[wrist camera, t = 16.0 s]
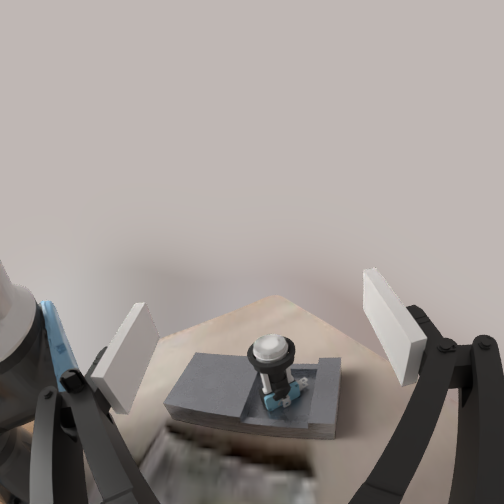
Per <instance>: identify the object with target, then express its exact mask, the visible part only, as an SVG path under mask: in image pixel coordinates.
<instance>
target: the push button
mask: <svg viewBox="0 0 504 504" xmlns="http://www.w3.org/2000/svg"><path fill="white" fill-rule="evenodd" d="M288 352H289V353H288ZM294 355H295V345H294V343H293V342H292V341H291V340H290V339H288V338H286V337H283V336H281V335H278V334H268V335H264V336H262V337H260V338H258V339H257V340H256V341H255V342H254V343H253V344H252V345H251V346H250V348H249V349H248V352H247V357H248V360H249V362H250V363H251V364H252V365H253V367H254V369H255V370H256V371H257V372H259V373H260V374H261V378H262V382H263V386H264V387H263V388H261V389H259V395H260V398H261V401H262V403H263V404H264V405H265V407H266V408H267V409H268V411H272V410H274V409H276V408H278V407H280V406H282V405H283V407H287V406H289V405H290V404H291V400H293V399H295V398H297V397H299V396H300V391H301V390H302V388H304V387H306V386H308V384H307V383H306V382H307V381H308V380H307V379H306V378H305V377H304V378H302V379H300V380H297V381H295V380H294V378H293V376H292V375H291V370H290V366H291V365H292V364H293V361H294ZM256 359H257V360H256ZM302 380H305V381H304V382H303V381H302ZM303 384H305V386H303ZM286 403H288V404H287V405H285V404H286Z"/></svg>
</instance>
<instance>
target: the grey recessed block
mask: <svg viewBox="0 0 504 504" xmlns="http://www.w3.org/2000/svg"><path fill="white" fill-rule="evenodd" d="M256 360H257V359H256ZM290 370H291V375H292V376H293V378H294V380H295V381H297V380H300V379H302V378H304V377H305V378H306V379H307V380H308V381H307V382H306V383H307V384H308V386H306V387H304V388H302V390H301V391H300V396H299V397H297V398H295V399H293V400H291V404H290V405H289V406H287V407H283V405H282V406H280V407H278V408H276V409H274V410H272V411H268V409H267V408H266V407H265V405H264V404H263V403H262V401H261V398H260V395H259V389H261V388H263V387H264V386H263V382H262V378H261V374H260V373H259V372H257V371H256V370H255V369H254V367H253V365H252V364H251V363H250V362H249V360H248V357H247V356H232V355H218V354H206V353H195V355H194V356H193V358H192V359H191V361H190V362H189V364H188V366H187V367H186V369H185V370H184V372H183V373H182V375H181V376H180V378H179V379H178V381H177V383H176V384H175V386H174V387H173V389H172V390H171V392H170V393H169V395H168V396H167V398H166V400H165V401H164V403H163V404H164V405H165V407H166V408H167V410H168V412H169V413H170V415H171V416H172V418H173V419H176V420H180V421H184V422H188V423H193V424H197V425H202V426H207V427H212V428H218V429H224V430H230V431H236V432H243V433H250V434H258V435H267V436H277V437H289V438H304V439H334V438H335V430H336V422H337V414H338V405H339V395H340V384H341V358H319V363H318V364H292V365H291V366H290ZM302 381H303V382H304V381H305V380H302ZM303 386H305V384H303ZM287 404H288V403H286V404H285V405H287Z"/></svg>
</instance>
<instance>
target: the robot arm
mask: <svg viewBox="0 0 504 504" xmlns="http://www.w3.org/2000/svg"><path fill="white" fill-rule="evenodd" d="M363 271H364V272H363V273H364V296H363V310H364V311H365V313H366V315H367V317H368V319H369V321H370V322H371V325H372V327H373V328H374V331H375V333H376V335H377V337H378V339H379V341H380V342H381V344H382V347H383V348H384V351H385V353H386V355H387V357H388V359H389V361H390V363H391V365H392V367H393V369H394V371H395V373H396V376H397V378H398V380H399V382H400V384H401V386H402V387H403V386H406V385H409V384H412V383H415V382H416V381H417V378H418V374H419V375H420V377H419V380H418V382H417V385H416V387H415V389H414V392H413V394H412V396H411V399H410V401H409V403H408V405H407V407H406V409H405V412H404V414H403V416H402V418H401V420H400V422H399V424H398V426H397V428H396V430H395V432H394V434H393V435H392V437H391V439H390V441H389V443H388V445H387V446H386V448H385V450H384V452H383V454H382V455H381V457H380V459H379V460H378V462H377V464H376V465H375V467H374V469H373V470H372V472H371V473H370V475H369V477H368V478H367V480H366V481H365V482H364V483H363V484H362V485H361V487H360V488H359V489H358V491H357V492H356V493H355V495H354V496H353V498H352V499H351V500H350V502H349V503H348V504H400V502H401V500H402V498H403V495H404V493H405V491H406V489H407V487H408V485H409V483H410V481H411V480H412V478H413V476H414V474H415V472H416V470H417V468H418V465H419V463H420V461H421V459H422V457H423V455H424V452H425V450H426V448H427V446H428V443H429V441H430V438H431V436H432V434H433V431H434V428H435V426H436V423H437V421H438V418H439V415H440V412H441V409H442V406H443V403H444V400H445V397H446V394H447V391H448V389H453V388H458V389H459V390H458V391H459V392H458V393H459V407H458V434H457V447H456V458H455V466H454V474H453V480H452V487H451V492H450V498H449V503H448V504H504V375H503V369H502V364H501V358H500V354H499V349H498V345H497V342H496V340H495V339H494V338H492V337H490V336H488V335H479V336H477V337H476V338H475V339H474V341H473V343H472V345H457V343H456V342H455V341H453V340H452V339H449V338H443V336H442V335H441V334H440V332H439V331H438V330H437V328H436V327H435V326H434V324H433V323H432V322H431V320H430V319H429V318H428V317H427V315H426V314H425V312H424V311H423V310H422V309H421V308H419V307H417V306H416V305H412V306H408V307H405V306H404V304H403V303H402V302H401V300H400V299H399V297H398V296H397V295H396V293H395V292H394V291H393V289H392V288H391V287H390V286H389V284H388V283H387V282H386V280H385V279H384V278H383V277H382V275H381V274H380V273H379V271H378V270H377V269H376V268H370V269H365V270H363ZM159 338H160V336H159V333H158V331H157V329H156V326H155V324H154V322H153V319H152V317H151V314H150V312H149V309H148V307H147V304H146V302H142V303H135V304H134V306H133V308H132V309H131V311H130V312H129V314H128V315H127V317H126V319H125V320H124V322H123V323H122V325H121V326H120V328H119V330H118V331H117V333H116V334H115V336H114V338H113V339H112V341H111V343H110V344H109V346H108V347H105V348H103V349H102V350H101V351H100V352H99V354H98V355H97V357H96V360H94V362H93V365H91V367H90V369H89V370H88V372H87V374H86V375H85V377H84V376H83V375H82V373H81V372H80V370H79V367H78V365H77V362H76V359H75V357H74V354H73V352H72V349H71V347H70V344H69V342H68V339H67V336H66V334H65V331H64V329H63V326H62V323H61V321H60V318H59V315H58V313H57V310H56V308H55V306H54V305H53V303H52V302H51V301H42V302H41V303H39V304H37V302H36V300H35V298H34V296H33V295H32V293H31V292H30V290H29V289H27V288H26V287H24V286H21V285H17V284H12V283H11V281H10V279H9V277H8V275H7V273H6V271H5V269H4V267H3V265H2V263H1V260H0V501H1V502H2V503H3V504H88V498H87V490H86V482H85V473H84V461H83V449H84V452H85V455H86V458H87V461H88V464H89V466H90V469H91V471H92V474H93V477H94V479H95V481H96V484H97V486H98V489H99V491H100V493H101V495H102V498H103V502H101V503H100V504H160V502H159V501H158V499H157V498H156V496H155V495H154V493H153V492H152V490H151V489H150V487H149V485H148V484H147V482H146V480H145V479H144V477H143V475H142V474H141V472H140V470H139V469H138V467H137V465H136V463H135V461H134V460H133V458H132V456H131V454H130V452H129V450H128V448H127V446H126V444H125V443H124V441H123V439H122V437H121V434H120V432H119V430H118V428H117V426H116V424H115V422H114V420H113V417H112V415H111V414H110V413H109V410H110V408H111V407H112V408H113V410H114V411H115V412H116V413H117V414H127V415H128V414H129V412H130V409H131V407H132V404H133V401H134V399H135V396H136V394H137V391H138V389H139V386H140V384H141V381H142V379H143V376H144V374H145V371H146V369H147V367H148V364H149V362H150V359H151V357H152V355H153V352H154V350H155V348H156V345H157V343H158V340H159ZM34 420H35V421H34ZM31 421H34V429H33V433H32V432H30V431H28V430H26V429H25V428H23V427H22V426H21V425H24V424H26V423H29V422H31Z"/></svg>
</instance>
